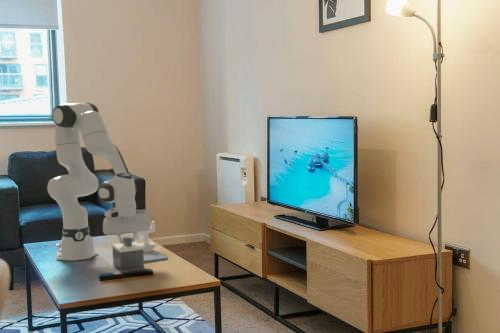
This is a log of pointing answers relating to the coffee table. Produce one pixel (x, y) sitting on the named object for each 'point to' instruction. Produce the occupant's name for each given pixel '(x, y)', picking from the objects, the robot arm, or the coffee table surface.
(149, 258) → the slate mat
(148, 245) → the figurine
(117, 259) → the tin box
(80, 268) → the coffee table surface
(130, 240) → the lid
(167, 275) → the coffee table surface
